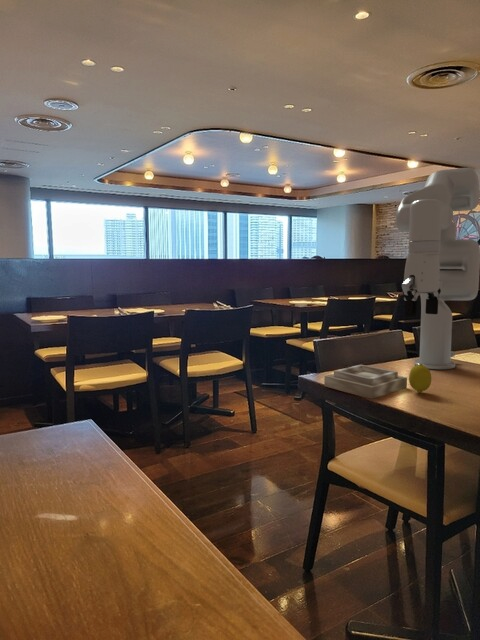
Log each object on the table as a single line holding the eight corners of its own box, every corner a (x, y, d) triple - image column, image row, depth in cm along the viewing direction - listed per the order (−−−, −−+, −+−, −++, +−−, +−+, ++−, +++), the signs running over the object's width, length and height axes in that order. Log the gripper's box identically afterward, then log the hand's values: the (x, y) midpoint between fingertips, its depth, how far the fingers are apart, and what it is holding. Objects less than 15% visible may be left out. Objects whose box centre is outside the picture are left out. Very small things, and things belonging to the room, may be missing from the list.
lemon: (427, 390, 125) (428, 361, 124) (433, 396, 120) (434, 366, 118) (406, 390, 126) (407, 361, 125) (411, 395, 120) (412, 365, 119)
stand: (359, 377, 140) (359, 362, 140) (406, 387, 128) (407, 371, 127) (324, 386, 130) (324, 370, 130) (371, 398, 118) (372, 381, 117)
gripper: (428, 250, 126) (426, 312, 128) (391, 248, 116) (389, 316, 118) (455, 249, 120) (452, 314, 122) (418, 247, 110) (416, 318, 112)
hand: (421, 315), depth 120 cm, fingers open, 9 cm apart
